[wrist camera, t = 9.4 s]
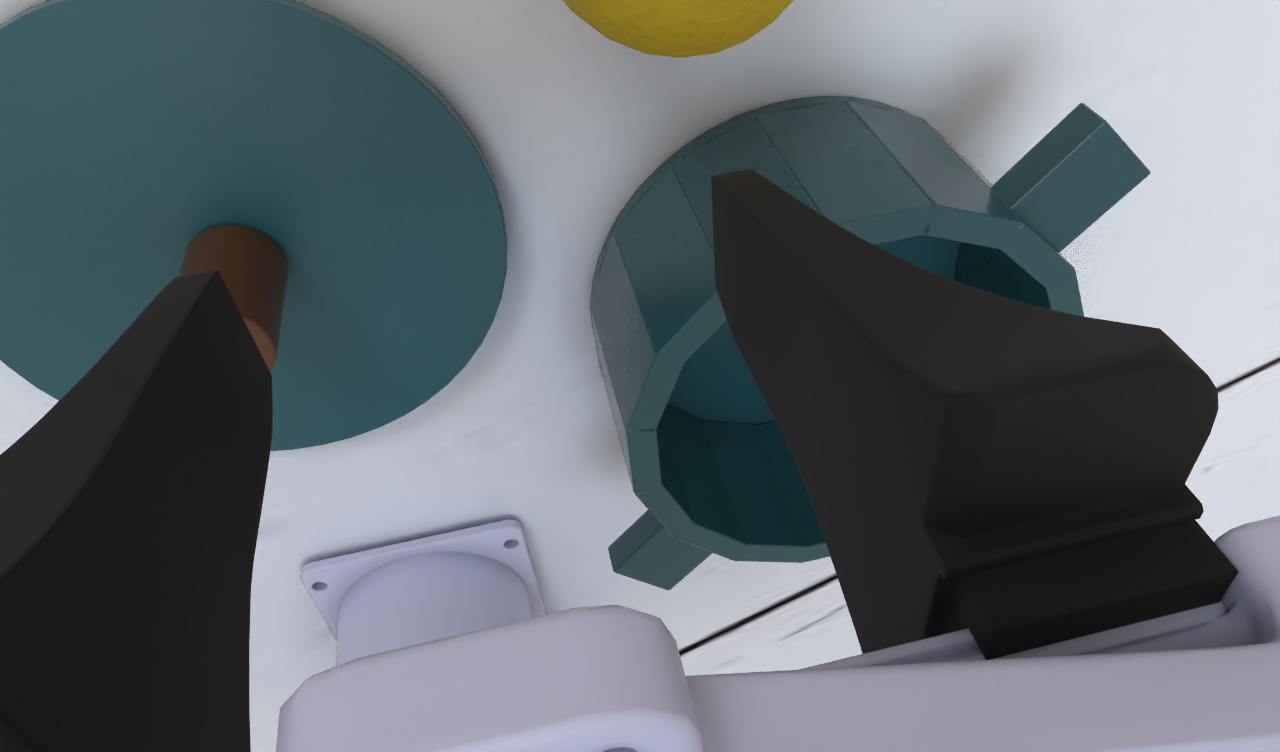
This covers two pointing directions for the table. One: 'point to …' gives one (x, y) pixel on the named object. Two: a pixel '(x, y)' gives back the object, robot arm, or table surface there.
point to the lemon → (678, 23)
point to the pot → (703, 343)
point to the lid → (242, 200)
